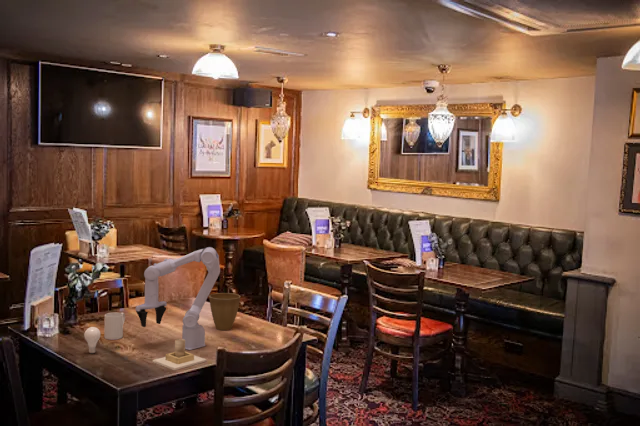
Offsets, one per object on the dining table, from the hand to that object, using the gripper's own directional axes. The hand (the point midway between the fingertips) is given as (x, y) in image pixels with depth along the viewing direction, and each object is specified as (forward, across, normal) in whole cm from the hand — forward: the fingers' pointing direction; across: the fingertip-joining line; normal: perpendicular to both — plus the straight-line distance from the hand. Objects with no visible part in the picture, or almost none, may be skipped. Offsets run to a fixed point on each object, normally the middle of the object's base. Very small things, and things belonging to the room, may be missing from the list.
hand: (151, 325), depth 280 cm
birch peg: (+9, +4, +25) cm, 27 cm away
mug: (+10, +2, -23) cm, 25 cm away
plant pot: (+10, -43, -1) cm, 44 cm away
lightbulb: (+10, +23, -8) cm, 26 cm away
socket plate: (+9, +4, +25) cm, 27 cm away
